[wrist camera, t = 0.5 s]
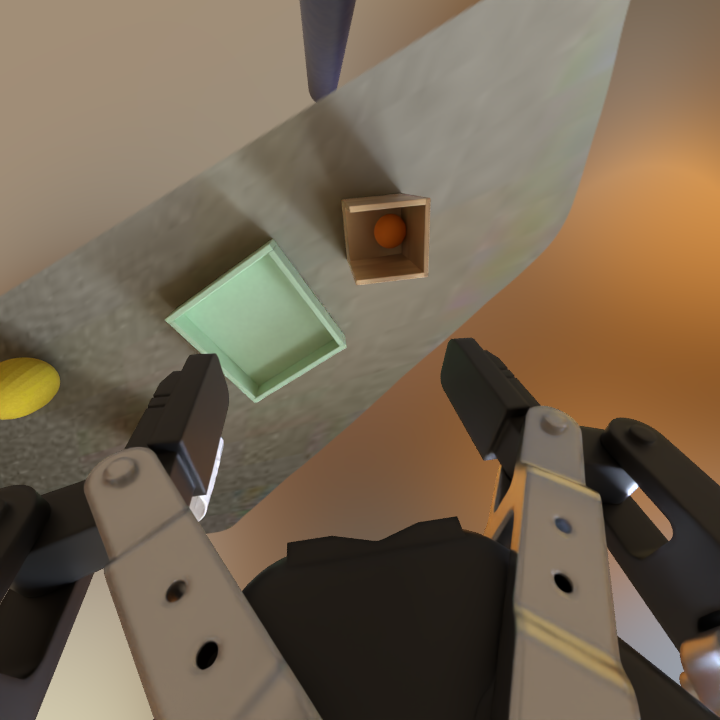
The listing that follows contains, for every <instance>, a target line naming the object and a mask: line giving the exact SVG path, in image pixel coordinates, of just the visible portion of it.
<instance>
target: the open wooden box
mask: <svg viewBox="0 0 720 720" xmlns="http://www.w3.org/2000/svg"><path fill="white" fill-rule="evenodd" d="M341 204H342V213H343V223H344V233H345V243H346V253H347V261H348V263H349V266H350V269H351V272H352V274H353V277H354V280H355V283H356V285H362V284H370V283H379V282H387V281H396V280H404V279H413V278H421V277H428V262H429V230H430V198H427V197H421V196H415V195H409V194H403V193H399V194H389V195H379V196H369V197H360V198H350V199H341ZM386 214H395V215H397V216H399V217H401V218H402V220H403V221H404V223H405V225H406V236H405V238H404V240H403V242H402V243H401V244H400V245H399V246H397V247H395V248H384V247H382V246H381V245H380V244H379V243H378V242H377V241H376V239H375V235H374V228H375V225H376V223H377V221H378V220H379V219H380V218H381V217H382V216H384V215H386Z"/></svg>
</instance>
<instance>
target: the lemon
mask: <svg viewBox="0 0 720 720" xmlns="http://www.w3.org/2000/svg"><path fill="white" fill-rule="evenodd" d="M59 386H60V377H59V375H58V372H57V371H56V370H55V368H54V367H52V366H51V365H50V364H48V363H47V362H44V361H42V360H39V359H35V358H26V357H21V358H14V359H9V360H5V361H3V362H0V419H15V418H19V417H23V416H26V415H28V414H30V413H33V412H34V411H36V410H38V409H40V408H41V407H43V406H45V405H46V404H47V403H48V402H49V401H50V400H51V399H52V398H53V397H54V396H55V395H56V393H57V391H58V389H59Z"/></svg>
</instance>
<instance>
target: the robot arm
mask: <svg viewBox="0 0 720 720" xmlns="http://www.w3.org/2000/svg"><path fill="white" fill-rule="evenodd" d="M441 384H442V387H443V389H444V391H445V393H446V394H447V397H448V398H449V400H450V402H451V404H452V405H453V407H454V409H455V411H456V412H457V414H458V416H459V418H460V420H461V421H462V423H463V425H464V427H465V428H466V430H467V432H468V434H469V435H470V437H471V439H472V441H473V443H474V444H475V446H476V448H477V450H478V451H479V453H480V455H481V457H482V459H483V460H491V459H498V460H499V462H500V464H501V465H500V467H499V469H498V472H497V478H496V483H495V488H494V494H493V499H492V504H491V510H490V514H489V519H488V523H487V526H486V528H485V531H484V534H483V535H481V534H479V533H476V532H472V531H469V530H464V529H462V527H461V525H460V523H459V520H458V518H457V517H450V518H443V519H438V520H431V521H425V522H418V523H416V524H414V525H412V526H410V527H407V528H405V529H404V530H401V531H399V532H397V533H395V534H393V535H391V536H389V537H387V538H385V539H382V540H380V541H369V540H361V539H353V538H345V537H337V536H328V537H322V538H315V539H309V540H303V541H296V542H290V543H287V557H284V558H282V559H281V560H279V561H277V562H275V563H274V564H272V565H270V566H269V567H267V568H266V569H265V570H263V571H262V572H261V573H259V574H258V575H257V576H256V577H255V578H254V579H253V580H252V581H251V582H250V583H249V584H248V585H247V586H246V587H245V588H244V590H243V591H241V589H240V588H239V586H238V585H237V583H236V581H235V580H234V578H233V577H232V575H231V573H230V572H229V570H228V569H227V567H226V565H225V564H224V562H223V561H222V559H221V557H220V556H219V554H218V552H217V551H216V549H215V548H214V546H213V545H212V543H211V541H210V540H209V538H208V537H207V535H206V533H205V532H204V530H203V528H202V527H201V525H200V524H199V522H198V520H197V519H196V517H195V516H194V514H193V512H192V511H191V509H190V508H189V507H190V503H191V499H192V497H194V496H202V495H207V491H208V487H209V483H210V479H211V475H212V471H213V467H214V463H215V459H216V455H217V451H218V446H219V442H220V438H221V434H222V430H223V426H224V422H225V418H226V414H227V410H228V405H229V393H228V388H227V384H226V381H225V378H224V374H223V371H222V368H221V364H220V361H219V358H218V356H217V354H216V353H210V354H194V355H189V357H188V358H187V361H186V363H185V365H184V367H183V369H182V371H173V372H172V373H171V374H170V375H169V376H167V377H166V378H165V379H164V380H163V381H162V382H161V383H160V384H159V386H158V388H157V390H156V391H155V393H154V395H153V396H154V398H152V399H151V401H150V403H149V404H148V409H146V410H145V412H144V414H143V416H142V418H141V419H140V421H139V423H138V425H137V427H136V429H135V431H134V432H133V434H132V436H131V438H130V440H129V442H128V444H127V445H126V447H125V449H124V450H121V451H118V452H116V453H114V454H112V455H110V456H109V457H107V458H105V459H104V460H103V461H101V462H100V463H99V464H98V465H96V467H95V468H94V469H93V470H92V471H91V472H90V473H89V475H88V477H87V478H86V480H83V481H81V482H78V483H75V484H72V485H69V486H66V487H64V488H61V489H58V490H55V491H52V492H49V493H46V494H43V495H40V494H39V493H38V492H36V491H35V490H34V489H33V488H32V487H30V486H26V485H13V486H8V487H4V488H1V489H0V603H1V604H0V720H35V719H36V717H37V714H38V712H39V709H40V707H41V704H42V702H43V699H44V697H45V694H46V692H47V689H48V687H49V684H50V682H51V679H52V677H53V674H54V672H55V669H56V667H57V664H58V662H59V659H60V657H61V654H62V652H63V649H64V647H65V644H66V642H67V639H68V637H69V634H70V632H71V629H72V627H73V624H74V622H75V619H76V616H77V614H78V612H79V609H80V607H81V604H82V602H83V599H84V597H85V594H86V592H87V589H88V587H89V584H90V582H91V579H92V577H93V574H94V572H97V571H99V570H101V569H103V568H104V574H105V578H106V582H107V584H108V587H109V590H110V593H111V596H112V599H113V602H114V604H115V607H116V610H117V613H118V616H119V619H120V622H121V625H122V628H123V630H124V633H125V636H126V639H127V641H128V644H129V648H130V651H131V653H132V656H133V659H134V662H135V665H136V668H137V670H138V674H139V676H140V679H141V682H142V685H143V688H144V691H145V694H146V697H147V699H148V702H149V705H150V708H151V711H152V714H153V716H154V719H153V720H720V486H719V485H718V484H717V483H716V482H715V481H714V480H712V479H711V478H710V477H709V476H708V475H707V474H706V473H705V472H703V471H702V470H701V469H700V468H699V467H698V466H697V465H696V464H694V463H693V462H692V461H691V460H690V459H689V458H688V457H687V456H685V455H684V454H683V453H682V452H681V451H680V450H679V449H678V448H677V447H675V446H674V445H673V444H672V443H671V442H670V441H669V440H667V439H666V438H665V437H664V436H663V435H662V434H661V433H659V432H658V431H657V430H655V429H654V428H652V427H650V426H648V425H646V424H644V423H642V422H640V421H637V420H634V419H629V418H616V419H613V420H612V421H611V422H610V423H609V425H608V426H607V427H606V429H605V430H603V429H597V428H591V427H584V426H579V425H578V424H577V422H576V421H575V420H574V419H572V418H571V417H570V416H569V415H567V414H566V413H564V412H562V411H560V410H558V409H555V408H552V407H548V406H541V405H540V404H539V403H538V402H537V401H536V400H535V398H534V397H533V396H532V395H531V394H530V393H529V392H528V390H527V389H525V387H524V386H523V385H522V384H521V383H520V381H519V380H518V379H517V378H515V377H514V375H513V374H512V372H511V371H510V370H508V369H507V367H506V366H505V364H504V363H503V362H502V361H501V360H500V359H499V358H498V357H496V356H495V355H493V354H491V353H490V352H488V351H487V350H483V349H482V348H481V347H480V346H479V344H478V343H477V342H476V341H475V340H474V339H473V338H459V339H451V340H450V341H449V342H448V345H447V349H446V353H445V358H444V362H443V366H442V370H441ZM638 487H640V488H641V489H642V491H643V492H644V493H645V494H646V495H647V496H648V497H649V498H650V499H651V501H652V502H653V503H654V504H655V505H656V506H657V507H658V508H659V510H660V511H661V512H662V513H663V514H664V515H665V516H666V518H667V519H668V520H669V522H670V523H671V526H672V529H673V537H672V539H671V540H670V541H668V540H667V539H666V538H665V536H664V535H663V534H662V533H661V532H660V530H659V529H658V528H657V527H656V526H655V524H653V522H652V521H651V520H650V519H649V517H648V516H647V515H646V514H645V513H644V512H643V510H642V509H641V508H640V507H639V506H638V505H637V503H636V502H635V501H634V500H633V499H632V497H631V496H630V495H631V494H632V493H633V492H634V491H635V490H636V489H637V488H638ZM607 548H608V549H609V551H610V552H611V554H612V555H613V556H614V558H615V560H616V561H617V562H618V564H619V565H620V567H621V568H622V570H623V571H624V573H625V574H626V575H627V577H628V578H629V580H630V581H631V583H632V584H633V586H634V587H635V589H636V590H637V591H638V593H639V594H640V596H641V597H642V599H643V600H644V602H645V603H646V605H647V606H648V607H649V609H650V610H651V612H652V613H653V615H654V616H655V618H656V619H657V621H658V622H659V623H660V625H661V626H662V628H663V629H664V631H665V632H666V634H667V635H668V637H669V638H670V640H671V641H672V642H673V644H674V645H675V647H676V648H677V650H678V651H679V653H680V658H681V663H682V666H683V669H684V672H682V673H681V674H680V678H679V680H680V684H681V686H680V685H678V684H677V683H676V682H675V681H674V680H672V679H671V678H670V677H668V676H667V675H666V674H665V673H663V672H662V671H661V670H660V669H658V668H657V667H656V666H655V665H653V664H652V663H651V662H650V661H648V660H647V659H646V658H645V657H643V656H642V655H641V654H640V653H638V652H637V651H636V650H635V649H633V648H632V647H631V646H629V645H628V644H627V643H626V642H624V641H623V640H622V639H621V638H619V637H618V636H617V630H616V622H615V613H614V604H613V596H612V586H611V579H610V569H609V561H608V552H607ZM8 589H9V590H8ZM7 591H8V592H7ZM5 594H6V595H5ZM4 596H5V597H4ZM3 598H4V599H3ZM1 601H2V602H1Z"/></svg>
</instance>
